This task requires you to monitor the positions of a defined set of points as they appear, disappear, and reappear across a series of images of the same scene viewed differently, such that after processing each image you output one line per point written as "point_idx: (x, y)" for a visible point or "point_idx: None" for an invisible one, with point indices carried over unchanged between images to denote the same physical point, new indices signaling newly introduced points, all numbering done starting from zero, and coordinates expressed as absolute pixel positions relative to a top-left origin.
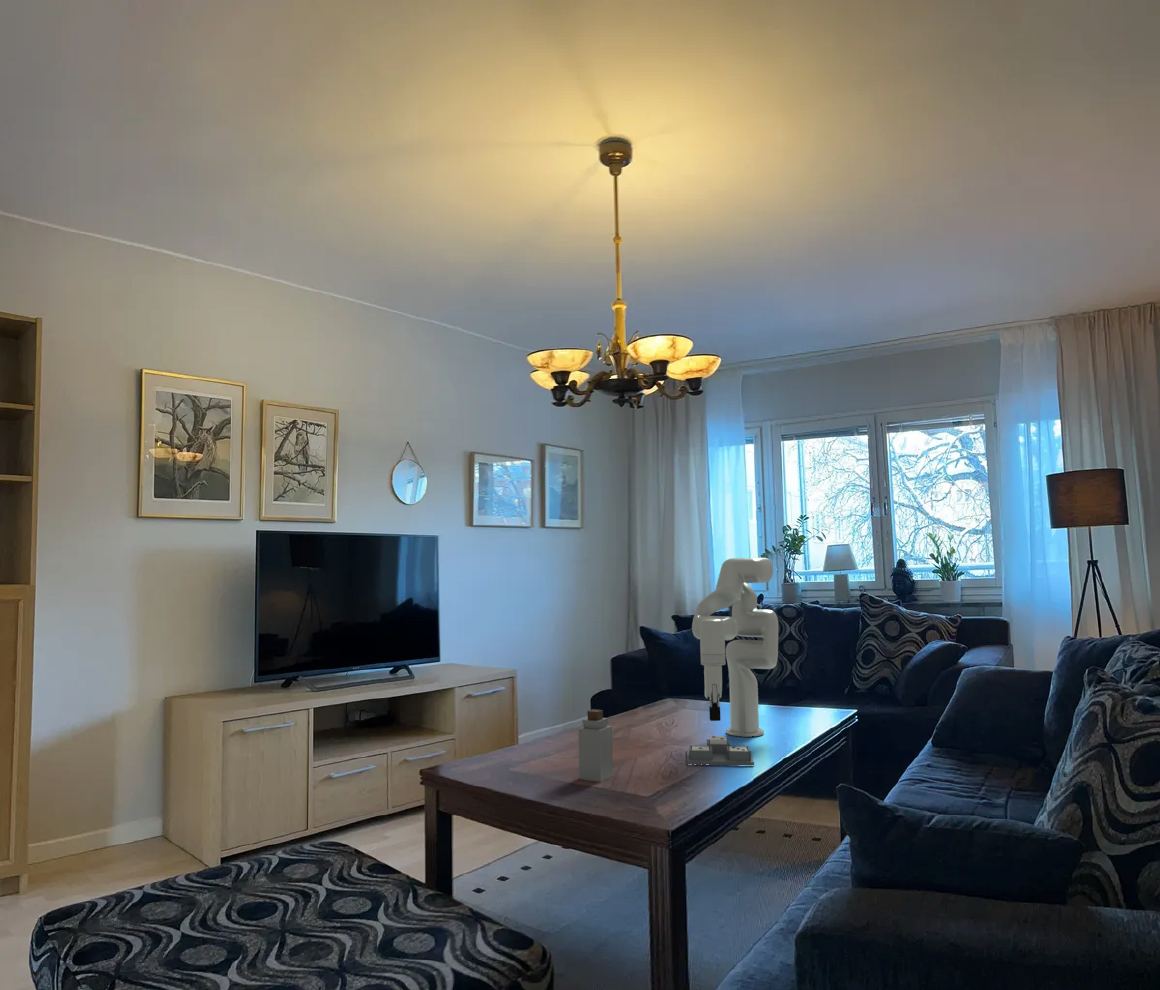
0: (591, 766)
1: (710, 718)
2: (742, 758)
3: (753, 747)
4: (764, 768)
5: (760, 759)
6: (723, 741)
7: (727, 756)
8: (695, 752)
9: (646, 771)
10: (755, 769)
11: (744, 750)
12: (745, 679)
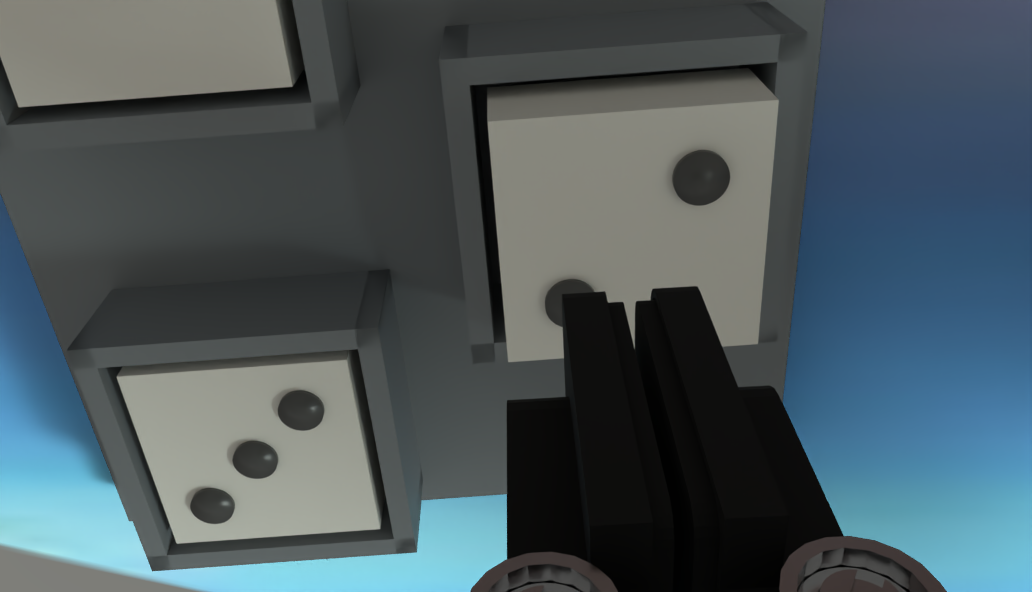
0: None
1: (568, 326)
2: None
3: (967, 481)
4: (112, 560)
5: (453, 534)
6: (504, 309)
7: (165, 300)
8: None
9: None
10: (41, 499)
11: (195, 515)
12: None
